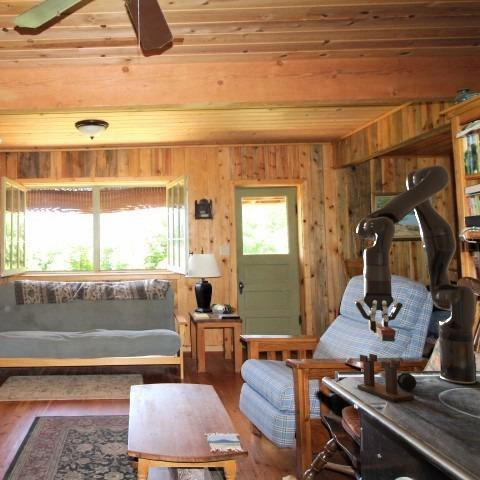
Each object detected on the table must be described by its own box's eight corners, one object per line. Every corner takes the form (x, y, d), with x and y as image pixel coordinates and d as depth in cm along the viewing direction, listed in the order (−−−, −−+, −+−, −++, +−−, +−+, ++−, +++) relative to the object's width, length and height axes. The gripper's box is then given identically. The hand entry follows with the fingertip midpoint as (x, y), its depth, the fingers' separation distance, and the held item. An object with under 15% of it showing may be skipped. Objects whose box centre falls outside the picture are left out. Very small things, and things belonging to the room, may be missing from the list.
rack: (356, 388, 135) (355, 355, 135) (375, 385, 137) (374, 353, 137) (393, 402, 122) (392, 365, 122) (414, 399, 124) (412, 363, 125)
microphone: (377, 383, 149) (406, 394, 129) (370, 367, 150) (398, 376, 130) (392, 378, 148) (423, 389, 129) (385, 363, 149) (415, 371, 130)
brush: (366, 329, 140) (366, 319, 140) (378, 329, 139) (378, 319, 139) (381, 341, 121) (381, 329, 122) (395, 341, 120) (395, 330, 120)
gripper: (398, 278, 133) (400, 331, 132) (350, 278, 138) (352, 329, 137) (406, 279, 126) (408, 336, 125) (355, 279, 131) (357, 333, 130)
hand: (379, 332), depth 131 cm, fingers closed on brush, 2 cm apart
